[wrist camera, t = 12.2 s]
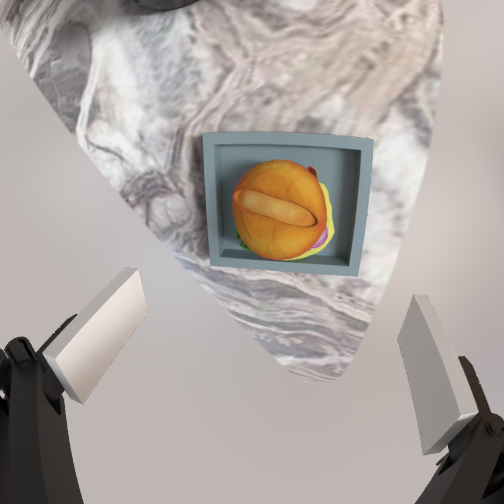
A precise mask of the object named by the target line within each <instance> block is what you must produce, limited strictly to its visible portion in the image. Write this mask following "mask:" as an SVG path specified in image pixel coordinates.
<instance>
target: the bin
mask: <svg viewBox="0 0 504 504" xmlns="http://www.w3.org/2000/svg"><path fill="white" fill-rule="evenodd" d="M373 143H374V140H373V139H369V138H362V137H353V136H343V135H331V134H317V133H299V132H213V133H205V134H203V157H204V178H205V197H206V213H207V228H208V242H209V255H210V265H211V266H222V267H234V268H247V269H259V270H272V271H285V272H299V273H313V274H328V275H343V276H358V271H359V266H360V260H361V254H362V247H363V241H364V234H365V227H366V219H367V211H368V203H369V194H370V184H371V172H372V159H373ZM274 159H280V160H291V161H293V162H295V163H297V164H299V165H302V166H304V167H305V168H307V167H308V166H311V167H313V168H315V169H316V171H317V175H318V181H319V182H320V183H322V184H324V185H325V186H326V188H327V190H328V193H329V201H330V203H331V206H332V221H333V226H334V231H335V232H334V234H333V236H332V238H331V240H330V241H329V242H328V244H327V245H326V246H325V247H324V248H323V249H322V250H321V251H319V252H318V253H315V254H313V255H310V256H308V257H305V258H302V259H296V260H272V259H266V258H263V257H261V256H259V255H258V254H255V253H254V252H252V251H249V250H245V249H244V248H243V247H241V246H240V244H241V242H242V239H237V236H236V233H235V231H236V229H237V227H236V223H235V219H234V214H233V205H232V198H233V192H234V190H235V187H236V185H237V184H238V182H239V180H240V179H241V178H242V177H243V176H244V175H245V174H246V173H247V172H248V171H249V170H250V169H252V168H253V167H254V166H256V165H258V164H260V163H262V162H265V161H270V160H274Z"/></svg>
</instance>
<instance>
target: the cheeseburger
mask: <svg viewBox="0 0 504 504" xmlns="http://www.w3.org/2000/svg"><path fill="white" fill-rule="evenodd" d="M232 205H233V214H234V219H235V223H236V227H237V229H236V231H235V233H236V236H237V239H242V242H241V244H240V246H241V247H243V248H244V249H245V250H249V251H252V252H254V253H255V254H258V255H259V256H261V257H263V258H266V259H272V260H296V259H302V258H305V257H308V256H310V255H313V254H315V253H318V252H319V251H321V250H322V249H323V248H324V247H325V246H326V245H327V244H328V242H329V241H330V240H331V238H332V236H333V234H334V232H335V231H334V226H333V221H332V206H331V203H330V201H329V193H328V190H327V188H326V186H325V185H324V184H322V183H320V182H319V181H318V175H317V171H316V169H315V168H313V167H311V166H308V167H307V168H305V167H304V166H302V165H299V164H297V163H295V162H293V161H291V160H280V159H274V160H270V161H265V162H262V163H260V164H258V165H256V166H254V167H253V168H252V169H250V170H249V171H248V172H247V173H246V174H245V175H244V176H243V177H242V178H241V179H240V180H239V182H238V184H237V185H236V187H235V190H234V192H233V198H232Z"/></svg>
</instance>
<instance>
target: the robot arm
mask: <svg viewBox="0 0 504 504" xmlns="http://www.w3.org/2000/svg"><path fill="white" fill-rule="evenodd" d="M130 1H131V2H133V3H135V4H137V5H139V6H141V7H143V8H146V9H149V10H171V9H176V8H180V7H183V6H186V5H189V4H191V3H194V2H196V1H198V0H130ZM147 314H148V311H147V307H146V302H145V298H144V294H143V289H142V285H141V280H140V275H139V270H138V269H135V268H127V267H126V268H125V269H124V270H123V271H121V272H120V273H119V274H118V275H117V276H116V277H115V278H114V279H113V280H112V281H111V282H110V283H109V284H108V285H107V286H106V287H105V288H104V289H103V290H102V291H101V292H100V293H99V294H98V295H97V296H96V297H95V298H94V299H93V300H92V301H91V302H90V303H89V304H88V305H87V306H86V307H85V308H84V309H83V310H82V311H81V312H80V313H79V314H75V315H73V316H72V317H70V318H68V319H67V320H66V321H65V322H64V323H63V324H62V325H61V326H60V328H58V329H57V330H56V331H55V334H54V333H53V334H52V336H51V337H50V338H49V339H48V340H47V341H46V342H45V343H44V344H43V345H42V346H41V347H40V349H39V350H38V351H37V352H36V353H35V351H34V349H33V347H32V345H31V343H30V342H29V340H28V339H27V338H26V337H17V338H14V339H13V340H11V341H10V342H9V343H8V344H7V345H6V347H5V349H4V351H5V352H6V354H7V356H8V357H9V358H8V357H7V356H6V354H5V352H4V351H3V350H2V349H0V390H2V391H3V393H4V394H5V397H4V399H3V398H2V397H1V396H0V504H84V503H83V499H82V496H81V493H80V489H79V485H78V481H77V477H76V472H75V468H74V464H73V458H72V453H71V448H70V442H69V436H68V429H67V421H66V414H65V403H64V398H63V396H62V393H63V392H64V390H65V391H66V393H67V394H68V395H69V397H70V398H71V399H73V400H75V401H77V402H79V403H81V404H84V403H85V401H86V400H87V398H88V397H89V395H90V394H91V393H92V391H93V390H94V388H95V387H96V385H97V384H98V382H99V381H100V379H101V378H102V376H103V375H104V373H105V372H106V370H107V369H108V368H109V366H110V365H111V363H112V362H113V361H114V359H115V358H116V356H117V355H118V353H119V352H120V351H121V349H122V348H123V347H124V345H125V344H126V342H127V341H128V340H129V338H130V337H131V336H132V334H133V333H134V331H135V330H136V329H137V327H138V326H139V324H140V323H141V322H142V321H143V319H144V318H145V317H146V315H147ZM397 341H398V344H399V348H400V351H401V355H402V358H403V362H404V366H405V370H406V374H407V377H408V382H409V385H410V389H411V394H412V399H413V403H414V408H415V413H416V417H417V422H418V428H419V434H420V440H421V446H422V452H423V455H428V454H434V453H439V452H441V451H442V450H443V449H444V448H445V447H446V446H447V445H448V449H449V452H448V453H447V454H446V455H445V456H444V457H443V458H442V459H441V460H439V461H438V462H437V464H436V465H437V466H438V465H439V464H440V463H441V462H442V463H441V464H440V466H439V468H438V469H437V471H436V473H435V474H434V476H433V477H432V479H431V481H430V482H429V484H428V485H427V487H426V488H425V490H424V491H423V493H422V494H421V496H420V497H419V498H418V500H417V501H416V503H415V504H504V420H503V418H501V417H500V416H499V415H497V414H493V413H491V411H490V408H489V405H488V403H487V400H486V397H485V395H484V392H483V389H482V387H481V385H480V384H479V380H478V377H477V376H476V373H475V370H474V368H473V366H472V364H471V363H470V362H469V361H468V360H467V359H466V357H465V356H459V357H457V355H456V352H455V350H454V348H453V345H452V343H451V341H450V339H449V337H448V335H447V332H446V330H445V329H444V326H443V324H442V322H441V320H440V318H439V316H438V314H437V312H436V310H435V308H434V307H433V305H432V303H431V301H430V299H429V297H428V295H419V294H413V297H412V300H411V303H410V306H409V309H408V312H407V315H406V318H405V320H404V323H403V326H402V328H401V331H400V333H399V336H398V338H397Z"/></svg>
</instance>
